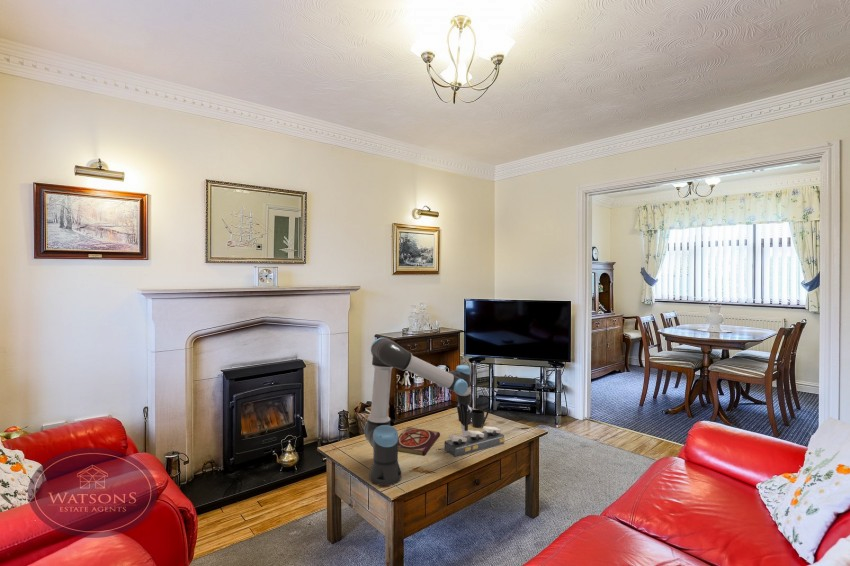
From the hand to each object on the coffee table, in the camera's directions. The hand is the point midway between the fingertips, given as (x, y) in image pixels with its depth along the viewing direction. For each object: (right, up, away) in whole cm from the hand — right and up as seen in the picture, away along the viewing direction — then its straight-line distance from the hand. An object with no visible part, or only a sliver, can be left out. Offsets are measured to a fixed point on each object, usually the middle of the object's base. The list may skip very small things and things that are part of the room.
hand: (465, 435), depth 233 cm
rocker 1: (-5, -3, -3) cm, 6 cm away
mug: (+13, -7, +35) cm, 38 cm away
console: (+6, -8, +4) cm, 10 cm away
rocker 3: (+16, -2, +9) cm, 19 cm away
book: (-28, -8, +9) cm, 30 cm away
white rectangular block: (+6, -2, +3) cm, 7 cm away
